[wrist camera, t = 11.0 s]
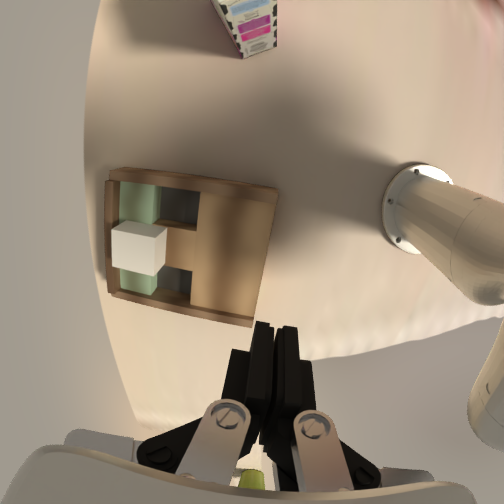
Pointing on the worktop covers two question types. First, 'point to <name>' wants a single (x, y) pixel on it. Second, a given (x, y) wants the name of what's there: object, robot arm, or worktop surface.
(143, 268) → the cream block
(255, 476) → the plant pot
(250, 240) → the box
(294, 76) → the worktop surface
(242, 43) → the candy bar box
